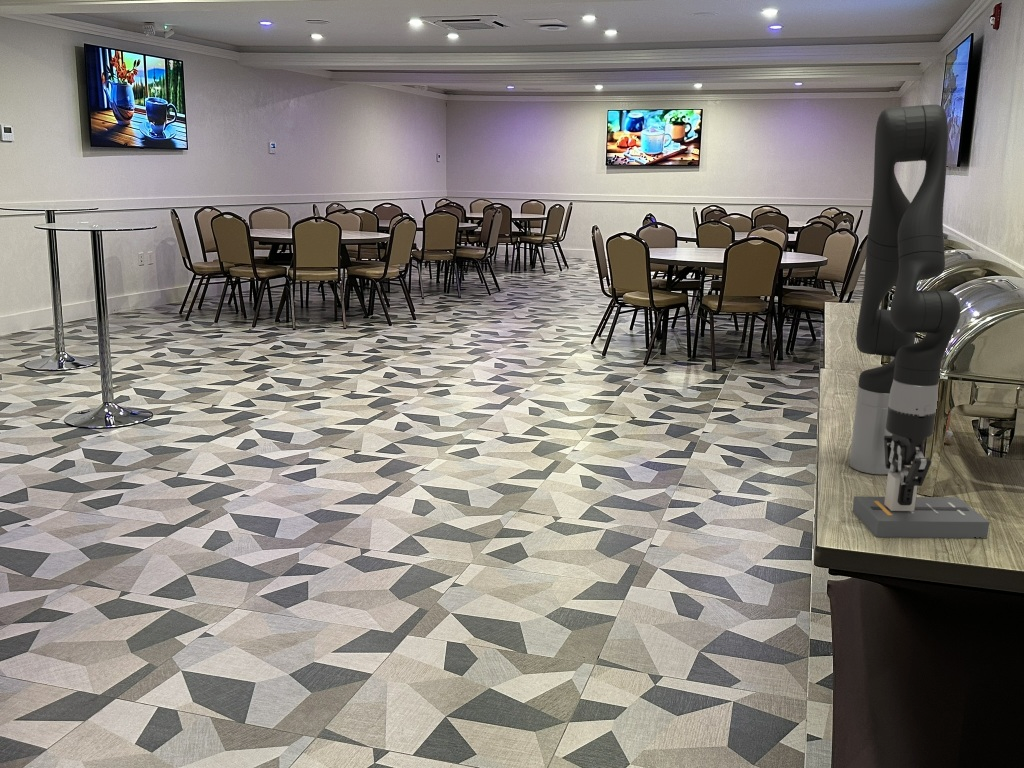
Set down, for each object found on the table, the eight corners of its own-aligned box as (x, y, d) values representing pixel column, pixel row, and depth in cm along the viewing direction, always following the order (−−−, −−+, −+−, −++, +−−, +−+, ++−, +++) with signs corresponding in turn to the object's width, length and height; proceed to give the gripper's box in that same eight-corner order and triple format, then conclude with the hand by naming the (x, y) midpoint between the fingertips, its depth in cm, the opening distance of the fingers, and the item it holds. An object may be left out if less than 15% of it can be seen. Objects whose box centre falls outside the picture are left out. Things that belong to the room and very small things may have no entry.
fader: (884, 504, 157) (888, 470, 156) (906, 504, 157) (911, 471, 156) (891, 510, 154) (895, 477, 153) (914, 511, 154) (918, 477, 153)
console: (852, 511, 162) (854, 495, 161) (955, 512, 162) (958, 496, 161) (876, 537, 151) (878, 520, 151) (986, 538, 151) (989, 521, 151)
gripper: (873, 395, 158) (863, 485, 162) (908, 418, 144) (895, 516, 149) (915, 395, 158) (903, 485, 162) (954, 418, 144) (940, 516, 149)
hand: (900, 500), depth 155 cm, fingers closed on fader, 3 cm apart
